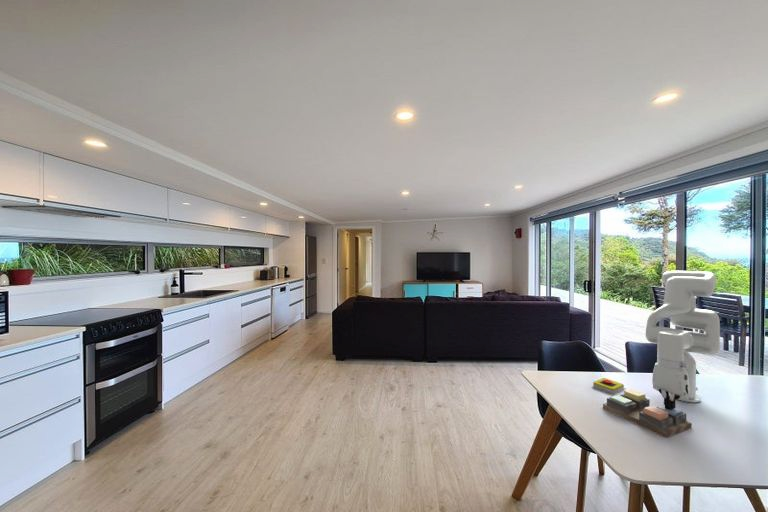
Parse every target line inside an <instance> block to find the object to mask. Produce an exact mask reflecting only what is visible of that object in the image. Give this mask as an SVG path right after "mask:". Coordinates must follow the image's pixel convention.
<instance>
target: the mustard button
mask: <svg viewBox="0 0 768 512" xmlns="http://www.w3.org/2000/svg"><path fill="white" fill-rule="evenodd" d="M623 391H624V393H623V394H624V396H626V397H629V398H631V399H634V400H636V401H642V400H645V398H646V393H644V392H640V391H638V390H636V389H633V388H630V389H626V390H623Z"/></svg>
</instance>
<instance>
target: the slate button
mask: <svg viewBox="0 0 768 512" xmlns="http://www.w3.org/2000/svg"><path fill="white" fill-rule="evenodd" d="M657 407H658V406H657ZM658 408H659V409H662V410H664V411H667V412H668V414H671V415H673V416H677V415H680V414H682V412H683V411H682V410H680V409H677V408H676V407H675V408H674V409H673V410H668V409H666V408H665V405H664V404H662V406H661V405H659V407H658Z"/></svg>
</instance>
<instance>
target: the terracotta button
mask: <svg viewBox="0 0 768 512" xmlns="http://www.w3.org/2000/svg"><path fill="white" fill-rule="evenodd" d="M657 407H658V406H654V405H650V406H649V407H645V408H644V414H646V415H649V416H651V417H653V418H656V419H658V420H660V421H662V420H665V419H668V412H667V411H664V410H662V409H659V408H657Z"/></svg>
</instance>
